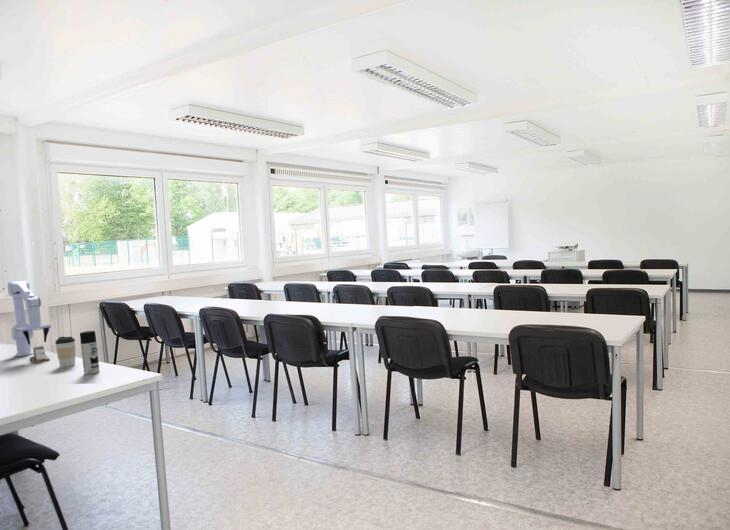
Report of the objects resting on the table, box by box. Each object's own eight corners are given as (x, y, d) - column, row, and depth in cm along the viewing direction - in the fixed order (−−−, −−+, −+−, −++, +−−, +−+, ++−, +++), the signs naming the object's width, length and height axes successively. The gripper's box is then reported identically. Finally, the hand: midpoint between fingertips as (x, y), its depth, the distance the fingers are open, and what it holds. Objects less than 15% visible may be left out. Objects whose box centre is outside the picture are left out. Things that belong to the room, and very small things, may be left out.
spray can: (93, 374, 252) (88, 333, 251) (80, 374, 253) (76, 333, 252) (102, 371, 258) (98, 330, 257) (90, 371, 260) (86, 330, 259)
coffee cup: (81, 364, 278) (78, 335, 277) (63, 368, 270) (60, 339, 269) (71, 363, 282) (68, 335, 282) (54, 367, 275) (51, 338, 274)
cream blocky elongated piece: (30, 358, 302) (29, 347, 302) (45, 356, 307) (44, 345, 306) (33, 363, 289) (32, 351, 288) (49, 360, 293) (48, 349, 293)
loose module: (34, 356, 298) (33, 347, 298) (43, 355, 301) (42, 345, 301) (35, 358, 294) (34, 348, 294) (44, 356, 297) (43, 346, 296)
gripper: (20, 321, 289) (22, 346, 290) (50, 317, 298) (53, 341, 299) (18, 320, 295) (21, 344, 296) (49, 316, 304) (51, 340, 304)
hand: (37, 343), depth 298 cm, fingers open, 7 cm apart
